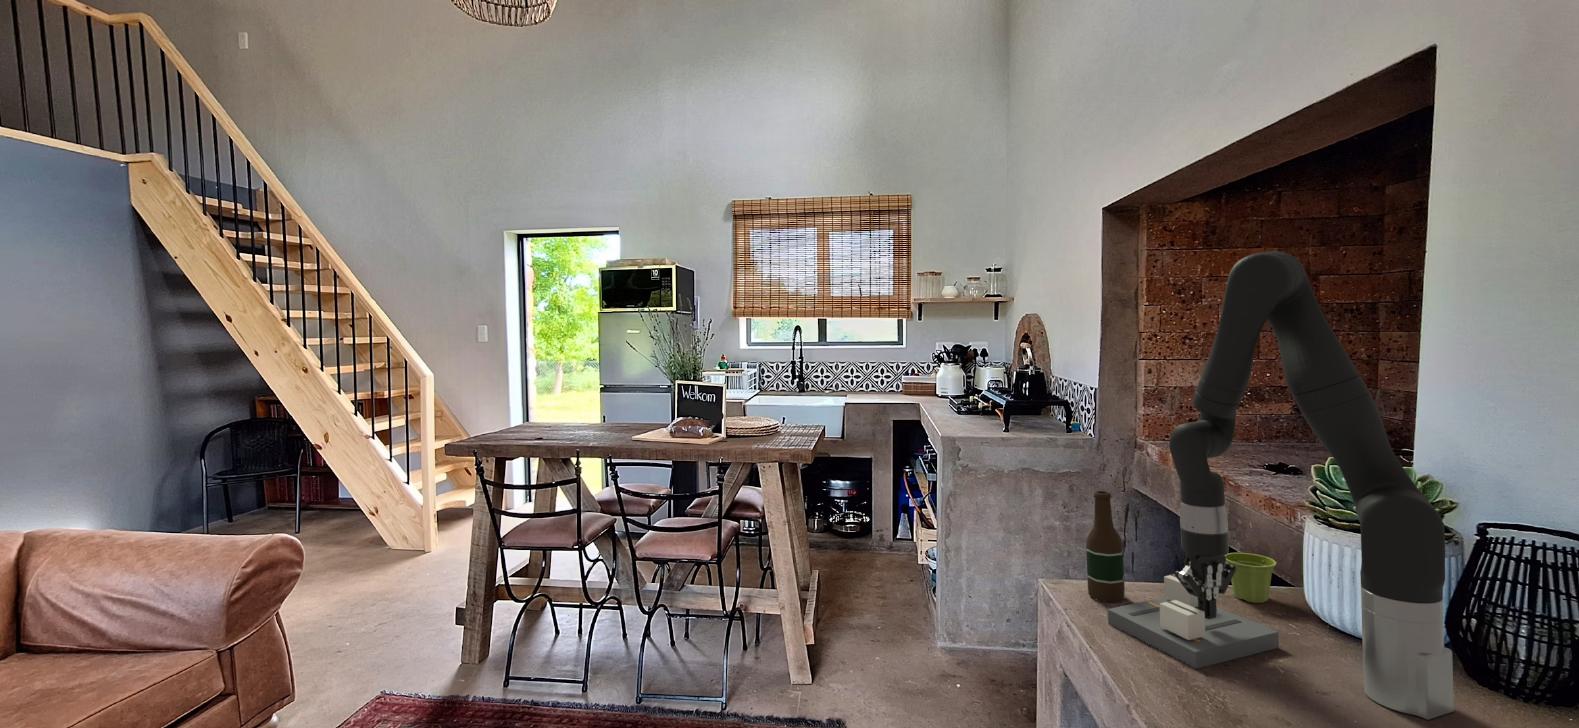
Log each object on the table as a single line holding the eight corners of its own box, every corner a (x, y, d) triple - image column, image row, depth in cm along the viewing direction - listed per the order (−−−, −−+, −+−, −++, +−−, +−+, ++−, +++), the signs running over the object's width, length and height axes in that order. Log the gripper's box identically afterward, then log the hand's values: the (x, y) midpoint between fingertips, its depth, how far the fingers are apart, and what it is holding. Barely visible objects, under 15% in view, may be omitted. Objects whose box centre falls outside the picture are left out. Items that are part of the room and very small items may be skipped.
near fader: (1205, 636, 116) (1204, 611, 116) (1188, 640, 115) (1187, 615, 114) (1176, 622, 122) (1175, 599, 121) (1160, 626, 120) (1159, 602, 120)
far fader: (1205, 605, 129) (1204, 582, 129) (1190, 608, 128) (1189, 585, 127) (1179, 594, 135) (1178, 572, 134) (1164, 597, 133) (1163, 575, 133)
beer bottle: (1130, 604, 139) (1126, 496, 139) (1092, 603, 141) (1088, 496, 140) (1119, 590, 147) (1115, 488, 146) (1083, 589, 148) (1079, 488, 148)
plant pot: (1218, 588, 145) (1216, 551, 145) (1265, 591, 142) (1264, 553, 142) (1234, 605, 136) (1233, 565, 136) (1286, 608, 133) (1284, 567, 133)
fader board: (1278, 647, 117) (1278, 631, 117) (1195, 668, 111) (1195, 651, 111) (1183, 607, 136) (1182, 593, 136) (1108, 623, 130) (1107, 608, 130)
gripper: (1194, 536, 114) (1198, 631, 114) (1249, 526, 118) (1253, 618, 118) (1159, 526, 121) (1163, 615, 121) (1212, 517, 125) (1216, 604, 125)
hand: (1207, 617), depth 120 cm, fingers closed
